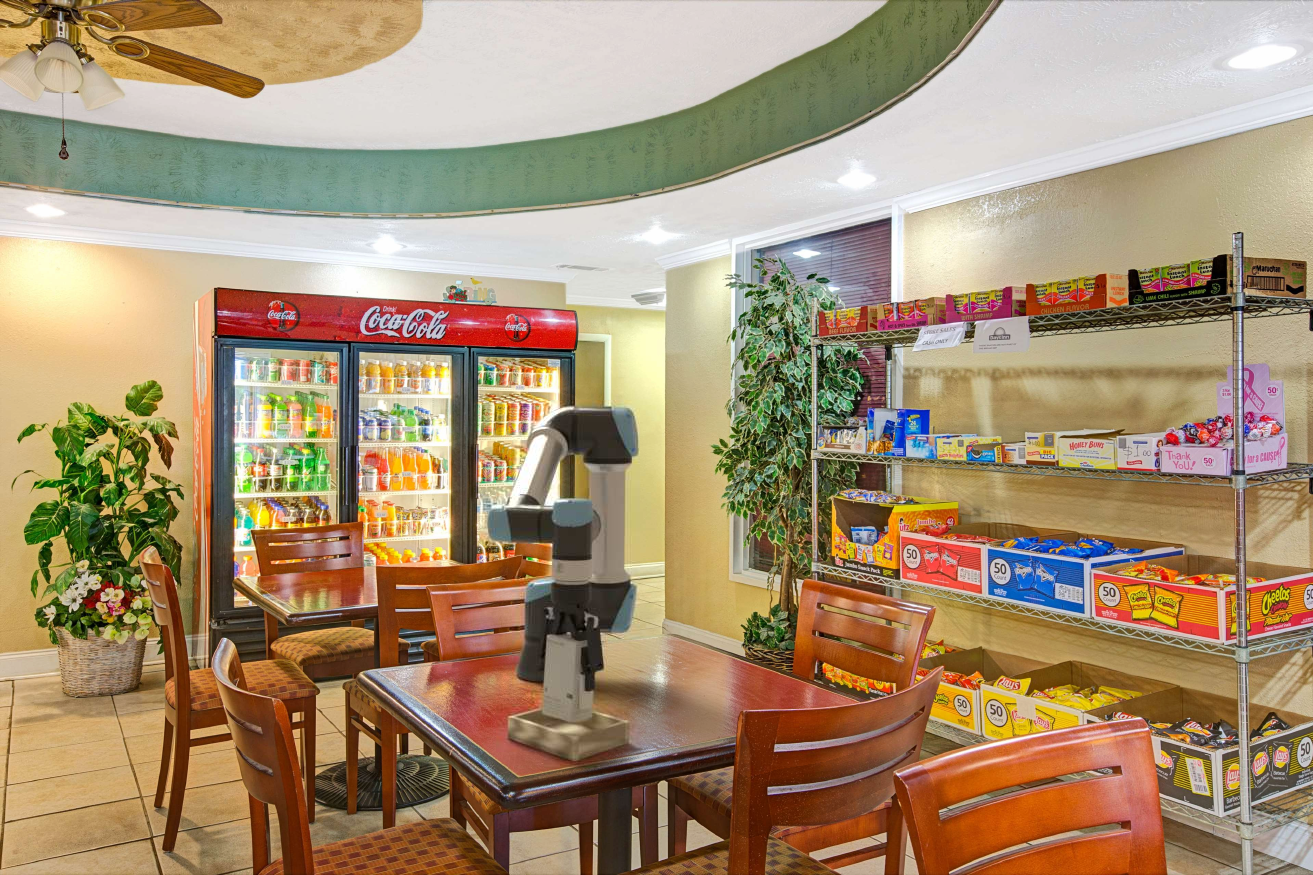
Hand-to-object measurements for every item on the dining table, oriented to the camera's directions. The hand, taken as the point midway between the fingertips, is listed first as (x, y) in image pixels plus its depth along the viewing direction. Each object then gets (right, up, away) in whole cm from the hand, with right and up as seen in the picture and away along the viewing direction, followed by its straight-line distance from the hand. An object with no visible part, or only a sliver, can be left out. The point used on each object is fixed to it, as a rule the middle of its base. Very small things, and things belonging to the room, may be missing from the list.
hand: (568, 703), depth 166 cm
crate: (0, -7, 0) cm, 7 cm away
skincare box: (0, -2, 0) cm, 2 cm away
